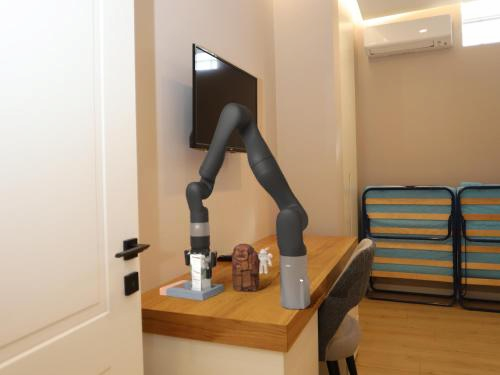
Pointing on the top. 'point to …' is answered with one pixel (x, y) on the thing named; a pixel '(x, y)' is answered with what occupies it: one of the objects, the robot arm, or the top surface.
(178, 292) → the keyhole board
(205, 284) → the syrup box
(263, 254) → the flower shoulder figurine
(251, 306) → the top surface
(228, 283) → the top surface
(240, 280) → the wooden figurine
